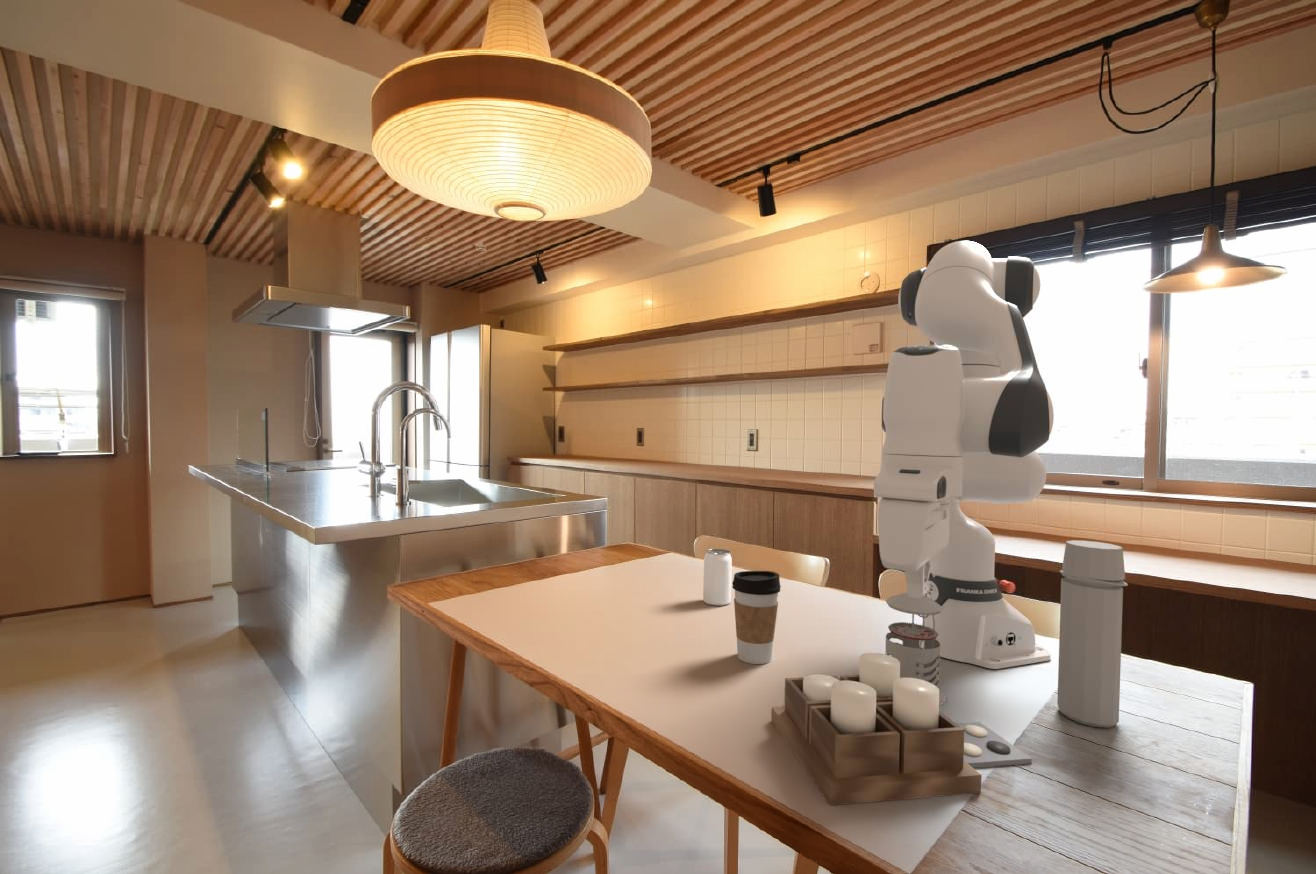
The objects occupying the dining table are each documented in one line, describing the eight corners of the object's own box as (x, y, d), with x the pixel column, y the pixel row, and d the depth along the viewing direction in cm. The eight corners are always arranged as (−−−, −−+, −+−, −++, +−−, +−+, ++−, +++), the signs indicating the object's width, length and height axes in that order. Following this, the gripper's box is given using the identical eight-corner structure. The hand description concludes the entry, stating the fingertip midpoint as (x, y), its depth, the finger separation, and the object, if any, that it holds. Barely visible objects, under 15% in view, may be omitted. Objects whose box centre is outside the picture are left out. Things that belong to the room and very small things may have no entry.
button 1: (831, 710, 78) (832, 673, 78) (848, 729, 73) (850, 690, 73) (796, 712, 78) (797, 675, 78) (811, 731, 73) (812, 691, 73)
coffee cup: (778, 669, 97) (781, 581, 97) (728, 664, 99) (730, 577, 99) (778, 651, 105) (780, 569, 105) (732, 646, 107) (734, 566, 107)
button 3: (885, 688, 80) (886, 652, 80) (907, 705, 75) (908, 666, 75) (852, 689, 79) (853, 653, 79) (871, 707, 74) (872, 668, 74)
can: (698, 599, 137) (700, 549, 137) (723, 597, 139) (725, 548, 139) (709, 607, 131) (710, 554, 131) (735, 605, 133) (736, 553, 133)
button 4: (921, 716, 72) (922, 676, 72) (947, 737, 67) (948, 695, 67) (884, 718, 71) (885, 678, 71) (907, 740, 66) (909, 697, 66)
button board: (891, 714, 83) (892, 669, 82) (981, 792, 65) (982, 735, 65) (771, 721, 80) (772, 674, 80) (830, 805, 62) (832, 745, 62)
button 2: (861, 720, 70) (862, 679, 70) (883, 742, 66) (885, 698, 65) (822, 722, 70) (824, 681, 70) (842, 745, 65) (843, 700, 65)
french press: (866, 690, 90) (871, 531, 90) (897, 670, 98) (901, 524, 98) (931, 713, 83) (936, 540, 83) (959, 689, 91) (964, 532, 91)
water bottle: (1095, 734, 78) (1101, 551, 78) (1042, 707, 86) (1047, 540, 85) (1144, 726, 81) (1150, 548, 81) (1088, 701, 88) (1093, 538, 88)
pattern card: (979, 726, 80) (979, 719, 80) (1031, 763, 71) (1031, 756, 71) (920, 729, 78) (920, 723, 78) (965, 768, 69) (965, 760, 69)
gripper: (912, 473, 79) (909, 574, 79) (869, 482, 62) (865, 609, 62) (963, 476, 75) (960, 582, 75) (932, 486, 59) (928, 622, 59)
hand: (917, 595), depth 69 cm, fingers closed
